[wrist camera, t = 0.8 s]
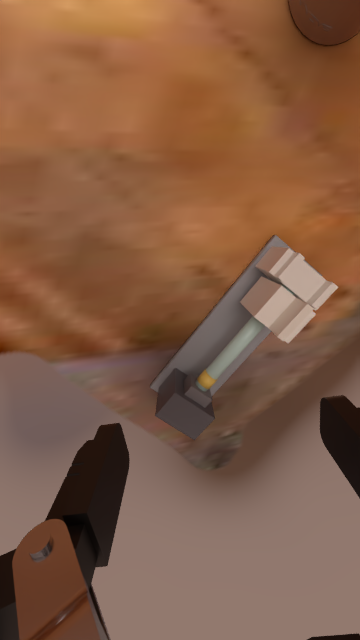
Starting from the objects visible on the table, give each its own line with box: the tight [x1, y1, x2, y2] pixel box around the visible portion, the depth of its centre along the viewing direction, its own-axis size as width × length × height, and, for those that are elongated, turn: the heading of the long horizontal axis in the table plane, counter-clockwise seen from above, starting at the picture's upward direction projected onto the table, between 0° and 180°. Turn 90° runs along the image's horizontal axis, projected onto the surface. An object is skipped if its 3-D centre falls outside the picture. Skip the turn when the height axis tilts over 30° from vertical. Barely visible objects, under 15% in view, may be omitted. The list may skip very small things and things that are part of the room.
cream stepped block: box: [240, 276, 316, 343], centre depth 28 cm, size 4×5×9 cm
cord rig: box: [150, 235, 338, 440], centre depth 32 cm, size 26×8×7 cm, turn 143°
